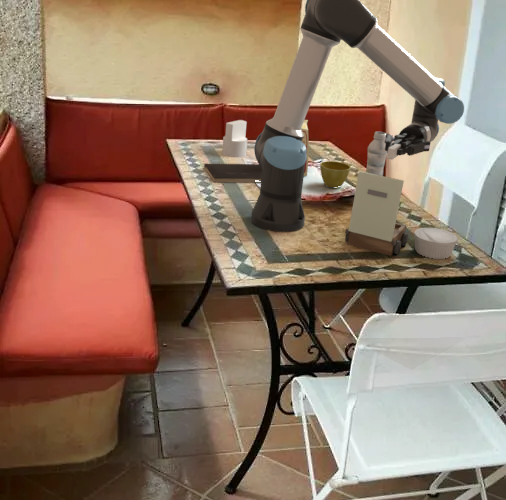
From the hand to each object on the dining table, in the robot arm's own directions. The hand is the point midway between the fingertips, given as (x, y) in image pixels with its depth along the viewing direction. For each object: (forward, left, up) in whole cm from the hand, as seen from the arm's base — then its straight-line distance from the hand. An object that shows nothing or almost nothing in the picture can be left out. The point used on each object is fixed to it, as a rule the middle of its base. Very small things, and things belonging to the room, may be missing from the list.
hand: (390, 154), depth 181 cm
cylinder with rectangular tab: (-13, +89, -25) cm, 93 cm away
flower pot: (+10, +50, -25) cm, 57 cm away
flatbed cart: (0, 0, -25) cm, 25 cm away
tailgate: (-5, -5, -21) cm, 22 cm away
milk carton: (+1, +65, -25) cm, 70 cm away
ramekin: (+14, -7, -26) cm, 30 cm away
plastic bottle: (+21, +43, -25) cm, 54 cm away
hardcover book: (-18, +63, -26) cm, 70 cm away
